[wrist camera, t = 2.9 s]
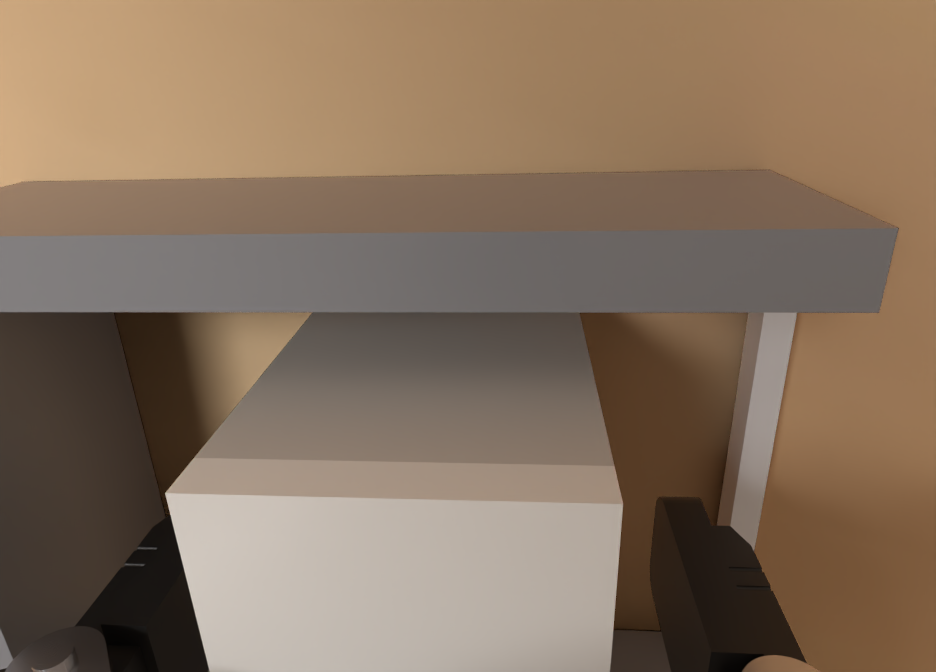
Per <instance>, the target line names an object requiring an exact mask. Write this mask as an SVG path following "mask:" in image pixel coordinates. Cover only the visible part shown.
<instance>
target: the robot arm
mask: <svg viewBox="0 0 936 672" xmlns="http://www.w3.org/2000/svg"><path fill="white" fill-rule="evenodd" d="M650 581H651V590H652V595H653V600H654V604H655V608H656V612H657V616H658V620H659V624H660V628H661V632H662V636H663V640H664V644H665V649H666V653H667V657H668V661H669V665H670V669H671V672H820V671H819V670H817V669H816V668H814V667H812V666H811V665H809V664H807V662H806V661H805V658H804V656H803V654H802V652H801V650H800V648H799V646H798V644H797V642H796V639H795V637H794V635H793V633H792V631H791V629H790V627H789V625H788V623H787V620H786V618H785V616H784V614H783V612H782V610H781V608H780V606H779V603H778V601H777V599H776V597H775V595H774V593H773V591H771V589H770V584H769V582H768V580H767V578H766V576H765V574H764V572H762V568H761V565H760V563H759V561H758V559H757V557H756V555H755V553H754V551H753V549H752V546H751V545H750V544H749V543H748V542H747V541H746V540H745V539H744V538H743V537H741V536H740V535H739V534H738V533H737V532H736V531H735V530H734V529H733V528H732V527H731V526H712V525H711V523H710V520H709V518H708V515H707V513H706V510H705V508H704V506H703V503H702V501H701V499H700V498H697V497H658V499H657V502H656V508H655V518H654V528H653V537H652V547H651V557H650ZM208 670H209V667H208V663H207V659H206V655H205V651H204V647H203V643H202V639H201V635H200V631H199V627H198V623H197V619H196V615H195V611H194V607H193V603H192V599H191V595H190V591H189V587H188V583H187V579H186V575H185V571H184V567H183V563H182V559H181V555H180V551H179V547H178V543H177V539H176V535H175V531H174V527H173V523H172V519H171V515H169V516H167V517H166V518H165V519H163V520H162V521H160V522H159V523H158V524H156V525H155V526H153V527H152V529H151V530H150V531H149V533H148V534H147V535H146V536H145V538H144V539H143V540H142V541H141V543H140V544H139V545H138V548H137V551H134V552H133V553H132V554H131V555H130V557H129V558H128V559H127V560H126V562H125V565H124V567H121V568H120V569H119V571H118V572H117V573H116V574H115V576H114V577H113V578H112V580H111V581H110V582H109V583H108V585H107V586H106V587H105V588H104V590H103V591H102V592H101V593H100V595H99V596H98V597H97V599H96V600H95V601H94V602H93V604H92V605H91V606H90V607H89V609H88V610H87V611H86V613H85V614H84V615H83V616H82V618H81V619H80V620H79V621H78V623H77V624H76V625H75V626H74V627H69V628H64V629H61V630H58V631H55V632H52V633H50V634H48V635H45V636H43V637H41V638H40V639H38V640H36V641H35V642H33V643H32V644H30V645H29V646H27V647H26V648H25V649H24V650H22V651H21V652H20V653H19V654H18V655H17V656H16V657H15V658H14V659H13V660H12V662H11V663H10V664H9V666H8V667H7V668H5V669H1V670H0V672H208Z"/></svg>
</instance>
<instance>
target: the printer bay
mask: <svg viewBox="0 0 936 672" xmlns="http://www.w3.org/2000/svg"><path fill="white" fill-rule="evenodd" d="M898 229H899V228H897V227H895V226H892V225H890V224H888V223H886V222H884V221H881V220H879V219H877V218H875V217H873V216H870V215H868V214H866V213H864V212H862V211H859V210H857V209H855V208H853V207H851V206H848V205H846V204H844V203H842V202H839V201H837V200H835V199H833V198H831V197H828V196H826V195H824V194H822V193H820V192H817V191H815V190H813V189H811V188H809V187H806V186H804V185H802V184H800V183H798V182H795V181H793V180H791V179H789V178H786V177H784V176H782V175H780V174H778V173H775V172H773V171H771V170H730V171H667V172H604V173H541V174H478V175H415V176H352V177H289V178H226V179H163V180H100V181H37V182H21V183H17V184H13V185H9V186H5V187H1V188H0V670H1V669H5V668H7V667H8V666H9V664H10V663H11V662H12V660H13V659H14V658H15V657H16V656H17V655H18V654H19V653H20V652H21V651H22V650H24V649H25V648H26V647H27V646H29V645H30V644H32V643H33V642H35V641H36V640H38V639H40V638H41V637H43V636H45V635H48V634H50V633H52V632H55V631H58V630H61V629H64V628H69V627H74V626H75V625H76V624H77V623H78V621H79V620H80V619H81V618H82V616H83V615H84V614H85V613H86V611H87V610H88V609H89V607H90V606H91V605H92V604H93V602H94V601H95V600H96V599H97V597H98V596H99V595H100V593H101V592H102V591H103V590H104V588H105V587H106V586H107V585H108V583H109V582H110V581H111V580H112V578H113V577H114V576H115V574H116V573H117V572H118V571H119V569H120V568H121V567H124V565H125V562H126V560H127V559H128V558H129V557H130V555H131V554H132V553H133V552H134V551H137V548H138V545H139V544H140V543H141V541H142V540H143V539H144V538H145V536H146V535H147V534H148V533H149V531H150V530H151V529H152V527H153V526H155V525H156V524H158V523H159V522H160V521H162V520H163V519H165V518H166V516H165V512H164V508H163V505H162V501H161V497H160V493H159V489H158V485H157V481H156V477H155V473H154V469H153V465H152V461H151V457H150V453H149V450H148V446H147V442H146V438H145V434H144V430H143V426H142V422H141V418H140V414H139V410H138V406H137V402H136V398H135V395H134V391H133V387H132V383H131V379H130V375H129V371H128V367H127V363H126V359H125V355H124V351H123V347H122V343H121V340H120V336H119V332H118V328H117V324H116V320H115V316H114V312H579V313H748V319H747V325H746V332H745V339H744V346H743V352H742V359H741V366H740V372H739V379H738V386H737V393H736V399H735V406H734V413H733V419H732V426H731V433H730V440H729V446H728V453H727V460H726V466H725V473H724V480H723V487H722V493H721V500H720V507H719V513H718V520H717V526H731V527H732V528H733V529H734V530H735V531H736V532H737V533H738V534H739V535H740V536H741V537H743V538H744V539H745V540H746V541H747V542H748V543H749V544H750V545H751V546H752V549H753V551H754V550H755V544H756V539H757V533H758V528H759V522H760V517H761V511H762V505H763V500H764V494H765V489H766V483H767V478H768V472H769V467H770V461H771V455H772V450H773V444H774V439H775V433H776V428H777V422H778V417H779V411H780V405H781V400H782V394H783V389H784V383H785V378H786V372H787V367H788V361H789V355H790V350H791V344H792V339H793V333H794V328H795V322H796V317H797V313H879V311H880V306H881V302H882V298H883V293H884V289H885V285H886V280H887V276H888V272H889V267H890V263H891V259H892V254H893V250H894V246H895V242H896V237H897V233H898ZM208 672H210V671H209V670H208ZM610 672H671V669H670V665H669V661H668V657H667V653H666V649H665V644H664V640H663V636H662V632H658V631H632V630H613V640H612V653H611V665H610Z"/></svg>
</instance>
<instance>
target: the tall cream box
mask: <svg viewBox="0 0 936 672" xmlns="http://www.w3.org/2000/svg"><path fill="white" fill-rule="evenodd" d="M165 495H166V499H167V503H168V507H169V511H170V515H171V519H172V523H173V527H174V531H175V535H176V539H177V543H178V547H179V551H180V555H181V559H182V563H183V567H184V571H185V575H186V579H187V583H188V587H189V591H190V595H191V599H192V603H193V607H194V611H195V615H196V619H197V623H198V627H199V631H200V635H201V639H202V643H203V647H204V651H205V655H206V659H207V663H208V667H209V671H210V672H610V665H611V653H612V640H613V627H614V615H615V602H616V589H617V577H618V564H619V551H620V538H621V526H622V513H623V501H622V497H621V492H620V488H619V484H618V479H617V475H616V470H615V466H614V462H613V457H612V453H611V449H610V444H609V440H608V435H607V431H606V427H605V422H604V418H603V414H602V409H601V405H600V400H599V396H598V392H597V387H596V383H595V378H594V374H593V370H592V365H591V361H590V357H589V352H588V348H587V343H586V339H585V335H584V330H583V326H582V322H581V317H580V313H579V312H313V313H312V314H311V315H310V316H309V318H308V319H307V320H306V321H305V323H304V324H303V325H302V326H301V328H300V329H299V330H298V331H297V332H296V334H295V335H294V336H293V337H292V339H291V340H290V341H289V342H288V343H287V345H286V346H285V347H284V348H283V350H282V351H281V352H280V353H279V354H278V356H277V357H276V358H275V359H274V361H273V362H272V363H271V364H270V365H269V367H268V368H267V369H266V370H265V372H264V373H263V374H262V375H261V376H260V378H259V379H258V380H257V381H256V383H255V384H254V385H253V386H252V387H251V389H250V390H249V391H248V392H247V394H246V395H245V396H244V397H243V398H242V400H241V401H240V402H239V403H238V405H237V406H236V407H235V408H234V409H233V411H232V412H231V413H230V414H229V416H228V417H227V418H226V419H225V420H224V422H223V423H222V424H221V425H220V427H219V428H218V429H217V430H216V432H215V433H214V434H213V435H212V436H211V438H210V439H209V440H208V441H207V443H206V444H205V445H204V446H203V447H202V449H201V450H200V451H199V452H198V454H197V455H196V456H195V457H194V458H193V460H192V461H191V462H190V463H189V465H188V466H187V467H186V468H185V469H184V471H183V472H182V473H181V474H180V476H179V477H178V478H177V479H176V480H175V482H174V483H173V484H172V485H171V487H170V488H169V489H168V490H167V491H166V493H165Z"/></svg>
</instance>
